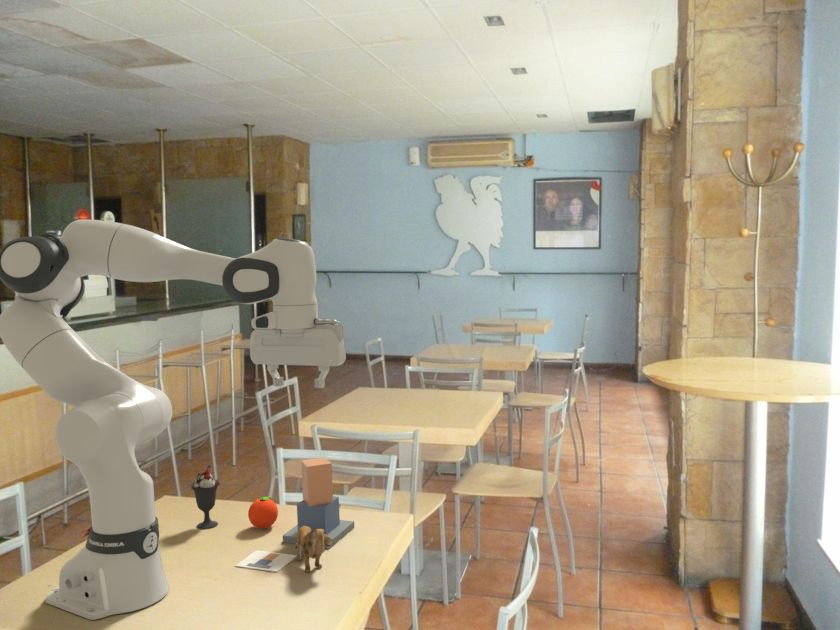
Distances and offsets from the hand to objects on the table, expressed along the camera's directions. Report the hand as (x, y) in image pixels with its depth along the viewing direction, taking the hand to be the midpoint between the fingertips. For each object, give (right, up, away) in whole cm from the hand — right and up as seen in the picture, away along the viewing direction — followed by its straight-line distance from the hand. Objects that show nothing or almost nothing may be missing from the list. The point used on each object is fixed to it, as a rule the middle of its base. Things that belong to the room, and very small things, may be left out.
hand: (298, 386), depth 144 cm
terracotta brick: (+1, -28, +18) cm, 33 cm away
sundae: (-26, -36, +27) cm, 52 cm away
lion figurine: (+2, -37, +3) cm, 37 cm away
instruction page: (-8, -37, +5) cm, 38 cm away
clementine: (-12, -36, +25) cm, 45 cm away
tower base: (+1, -36, +19) cm, 40 cm away
